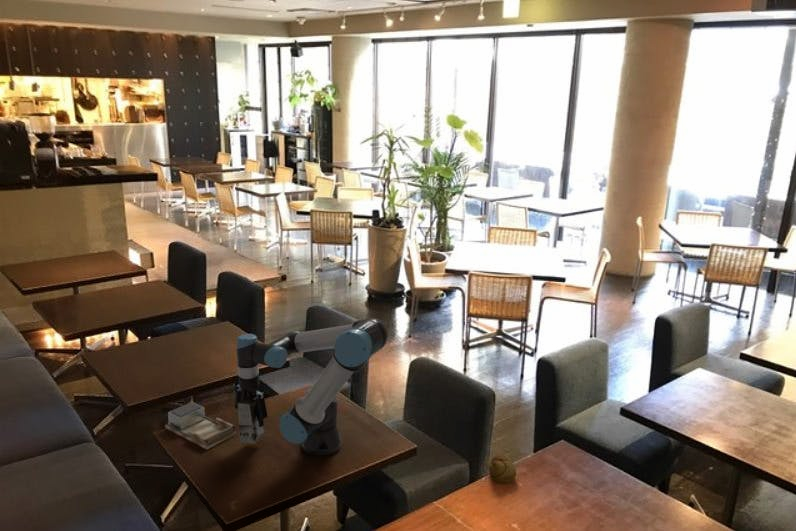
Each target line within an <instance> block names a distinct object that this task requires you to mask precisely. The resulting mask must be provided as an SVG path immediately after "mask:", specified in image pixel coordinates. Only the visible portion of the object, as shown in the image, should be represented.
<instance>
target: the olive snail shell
mask: <svg viewBox="0 0 796 531" xmlns="http://www.w3.org/2000/svg"><path fill="white" fill-rule="evenodd" d="M516 470H517V469H516V468H515V465H514V464H513V461H512V459H511V458H510V457H508V456H507V455H505V454H496V455H493V457H491V458H490V460H489V463H488V473H489V476H490V477H491V479H492V480H493V481H495V482H497V483H500V484H508V483H511V482H513V481H514V479H515V478H516V475H517V471H516Z"/></svg>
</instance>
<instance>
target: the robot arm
mask: <svg viewBox="0 0 796 531" xmlns="http://www.w3.org/2000/svg"><path fill="white" fill-rule="evenodd" d="M388 340H389V331H388V328H387V326H386V324H385V323H384V322H383V321H382V320H381V319H378V318H374V317H369V318H364V319H359V320H358V319H357V320H355V321H353V323H352V324H346V325H339V326H332V327H325V328H321V329H320V328H319V329H315V330H314V329H313V330H307V331H302V332H300V331H298V330H293V331H290V332H289V333H286V334H285V335H283V336H281V337H279V338H277V339H276V340H274V341H272V342H270V343H262V342H259V340H258V336H257V335H255V334H254V333H244V334H241V335H239V336H237V338H236V346H235V347H236V348H235V349H236V357H237V375H238V384H237V385H235V386H234V389H235V396H234V397H235V398H234V410H238V402H239V401H240V400H241V399H244V398H248V399H249V400H250V402H255V401H256V405H255V412H256V416H257V419H256V433H257V435H260V434H262V433H263V426H264V427H265V420H263V419H266V418H268V410H267V406H266V405H267V404H266V400H265V392H261V391H259V386H260V383H261V382H260V374H259V373H260V371H259V365H262V366H267V367H270V368H282V367H283V366H284V365H285V364H286V363H287V360H288V357H290V356H291V355H295V354H300V353H301V354H302V353H306V352H307V353H308V352H313V351H315V352H316V351H321V350H323V351H324V350H328V349H332V351H331V352H332V354H331V355H332V358H331V359H330V361H329V363H328V364H327V365H326V367H325V368H324V369H323V371H322V373H320V374H319V376H318V377H317V379H316V380H315V382H314V383H313V385H312V386H311V388H309V389H307V391H306V394H305V396H302V397H299V398H298V399H297V400H296V401H295V402H294V404H293V405H292V406H291V408H290V410H288V411H287V412H286V413H284V414H283V415H282V416H281V417H280V419H279V422H278V426H279V429H280V432H281V434H282V436H283V437H284V438H285V439H286V440H287V441H288V442H290V443H292V444H295V445H299V444H301V448H302V450H303V451H304V452H306V454H308V455H312V456H317V457H318V456H319V457H321V456H322V457H323V456H329V455H332V454H335V453H336V452H338V451H339V450H340V449H341V447H342V438H341V435H340V433H339V432H340V431H339V428H338V424H337V421H338V396H337V395H338V393H339V392H340V391H341V390H342V388H343V387H344V386H345V384H346V383H347V381H348V380H349V379H350V378H351V376H352V375H353V374H354V373H358V372H360V371H361V370H362V369H363V368H364V367H365V365H366V363H367V362H368V361H369V360H370V359H371V358H372V357H373V356H374V355H375V354H377V353H378V352H380V350H382V349H383V348H384V347H385V346H386V345H387V342H388ZM254 398H256V399H254ZM253 399H254V400H253ZM263 434H264V433H263ZM263 434H262V435H263Z"/></svg>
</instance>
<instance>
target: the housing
mask: <svg viewBox="0 0 796 531" xmlns="http://www.w3.org/2000/svg"><path fill="white" fill-rule="evenodd" d="M205 409H206V408H205V407H204V406H202V405H201V404H198V403H196V402H193V401H191V402H188V403H187V404H184V405H182V406H179V407H177V408H174V409H173V410H170V411H168V412H167V416H168V417H167V418H168V420H167V421H168V424H170V425H172V426H174V427H176V428H178V429H180V430H182V429H184V428H186V427H188V426H190V425H193V424H195V423H197V422H199V421H201V420H203V419H205V416H206V412H205V411H206V410H205Z"/></svg>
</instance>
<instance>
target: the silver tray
mask: <svg viewBox="0 0 796 531" xmlns="http://www.w3.org/2000/svg"><path fill="white" fill-rule="evenodd" d="M164 428H165V429H167V430H169V431H171V432H173V433H175V434H176V435H178V436H180V437H182V438H184V439H186V440H188V441H189V442H191V443H193V444H195V445H198V446H199V447H201V448H203V449H205V450H210V449H211V448H213V447H215V446H216V445H219V444H220V443H222V442H224V441H226V440H228V439H230V438H232V437H235V436H236V435H237V431H236V426H235V425H234V424H233V423H230V422H228V421H226V420H224V419H222V418H219V417H216V418H215V419H213V418H210V417H208V416H206V415H205V419H203V420H201V421H199V422H197V423H195V424H193V425H190V426H188V427H186V428H184V429H182V430H180V429H178V428H176V427H174V426H172V425H170V424H169V423H166V424H165V427H164Z"/></svg>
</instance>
